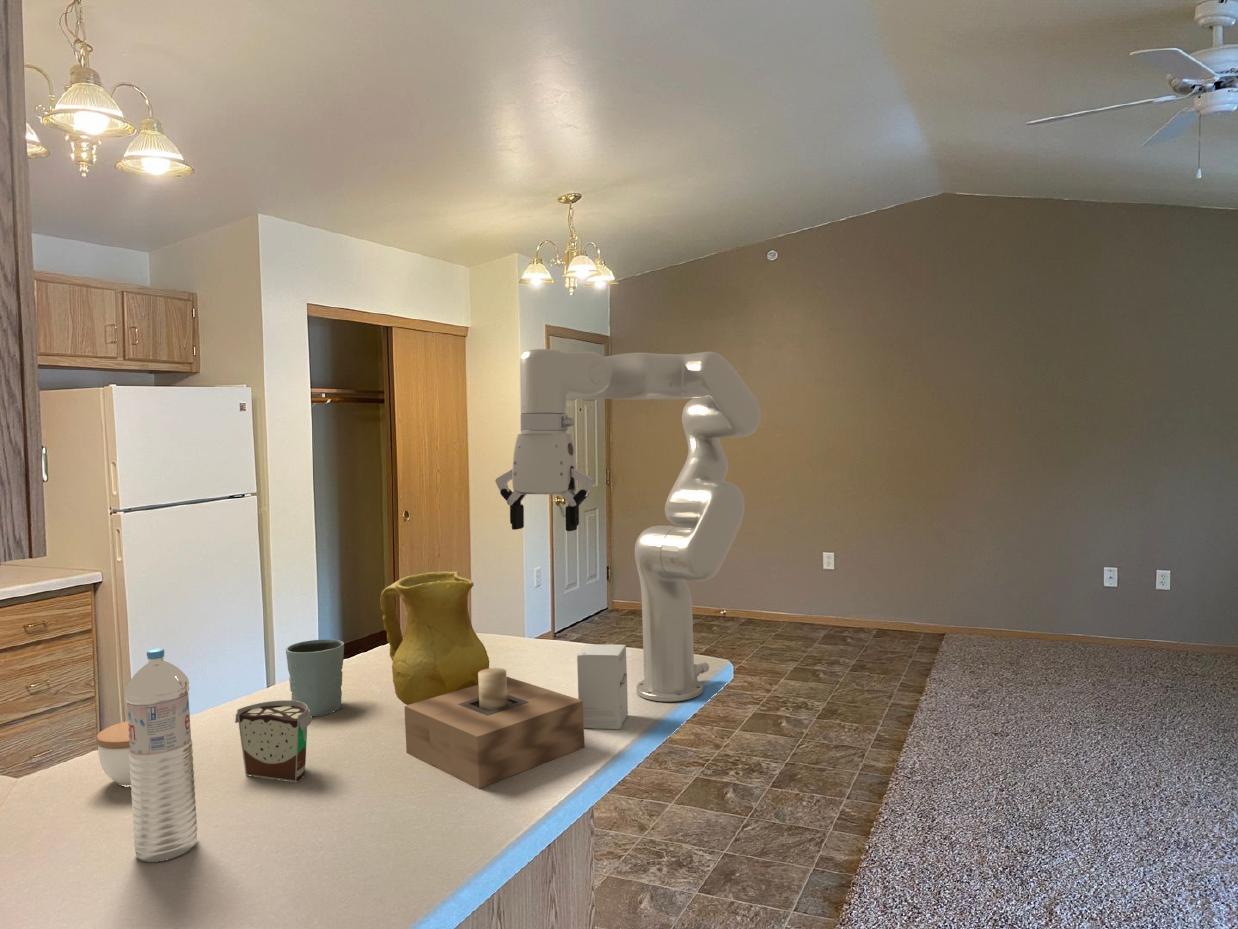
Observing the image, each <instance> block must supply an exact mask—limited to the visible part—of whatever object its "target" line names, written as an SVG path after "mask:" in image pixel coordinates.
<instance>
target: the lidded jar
mask: <svg viewBox="0 0 1238 929" xmlns="http://www.w3.org/2000/svg"><path fill="white" fill-rule="evenodd" d="M96 744H97V750H98V758H99V762H100V765H101V768H102V771H103V772H104V774H105V775H106V776H107V777H108V778H109V779H111V780H112V781H113V782H114V783H117V785H118V784H119V785H126V786H127V785H131V780H130V776H131V774H130V764H129V762H130V759H129V752H130V744H129V726H128V720H126V721H122V722H119V723H116V724H113V725H110V726H108V727H106V728H104V729H102V730H101V731H99V733H98V734H97V735H96ZM119 785H118V786H119Z"/></svg>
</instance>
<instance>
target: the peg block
mask: <svg viewBox="0 0 1238 929" xmlns="http://www.w3.org/2000/svg"><path fill="white" fill-rule="evenodd" d="M506 677H507V702H508V706H505V707H502V708H499V709H496V710H493V711H486V710H484V709H481V708H480V706H479V685H475V686H472V687H469V688H465V689H462V690H458V691H455V692H451V693H448V694H444V695H441V696H437V697H434V698H430V699H427V700H424V701H420V702H417V703H413V704H410V705H406V704H405V705H404V724H405V725H404V726H405V728H404V730H405V744H406V748H405V749H406V750H405V751H406V754H409V755H410V756H413V757H415V758H417V759H418V760H421V761H423V762H424V763H427V764H428V765H431V766H432V767H435V768H437V769H439V770H440V771H442V772H445V773H447V774H448V775H451V776H453V777H455V778H457V779H458V780H461V781H462V782H465V783H466V784H469V785H471V786H473V787H474V788H477V789H479V790H480V789H482V788H485V787H487V786H490V785H493V784H495V783H498V782H500V781H503V780H505V779H508V778H510V777H513V776H515V775H518V774H520V773H523V772H525V771H528V770H531V769H533V768H535V767H538V766H540V765H543V764H545V763H549V762H551V761H554V760H555V759H559V758H560V757H561V758H562V757H563V756H566V755H568V754H571V753H574V752H576V751H578V749H579V750H581V749H584V748H585V728H584V721H583V700H579V699H578V698H575V697H572V696H570V695H566V694H563V693H561V692H556V691H553V690H550V689H549V688H544V687H541V686H539V685H538V686H537V685H536V684H531V683H529V682H525V681H523V680H519V679H516V678H513V677H510V676H506ZM580 748H581V749H580Z"/></svg>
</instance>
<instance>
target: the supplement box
mask: <svg viewBox="0 0 1238 929" xmlns="http://www.w3.org/2000/svg"><path fill="white" fill-rule="evenodd" d="M576 660H577V661H576V664H577V692H578V693H577V694H578V695H577V696H578V698H577V699H579V700H583V721H584V729H598V730H599V729H600V730H620V729H621V728H622V725H623V724H624V722H625V721H626V718H627V717H628V714H629V710H628V709H629V707H628V706H629V705H628V703H629V702H628V699H629V698H628V668H627V665H628V664H627V645H626V644H608V643H607V644H601V643H600V644H590V643H589V644H586V645H585V646H584V647H583V648H582V649H581V650H580V652H579V653H577V656H576Z"/></svg>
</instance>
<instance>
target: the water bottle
mask: <svg viewBox="0 0 1238 929" xmlns="http://www.w3.org/2000/svg"><path fill="white" fill-rule="evenodd" d="M146 657H147V658H146V660H148V663H146V664H144V666H142V667H141V668H139V670H138V671H136V673H135V674H133V676H132V678H130V681H129V682H128V684H127V685H126V686H125V690H124V691H125V692H124V694H125V702H126V703H127V704H126V705H127V721H128V726H129V744H130V752H129V759H130V762H129V764H130V774H131V776H130V780H131V787H130V789H131V790H130V791H131V792H130V793H131V794H130V795H131V809H132V825H133V826H132V828H133V830H132V831H133V840H134V841H133V843H134V846H133V847H134V852H135V855H136V857H137V859H139V860H140V861H142V862H145V861H146V862H145V863H157V862H156V861H160V862H163V861H162V860H166V859H170V860H172V858H173V859H175V858H174V857H176V858H178V857H180V855H181V856H182V854H183V855H184V854H186V853H187V852H189V851H190V850H191V848H192V847H193V848H194V846H196V844H197V840H198V826H197V825H198V821H197V804H196V802H197V801H196V791H195V790H196V786H195V769H194V768H195V765H194V755H193V754H194V750H193V740H192V736H191V735H192V734H191V731H192V730H191V729H192V728H191V716H190V700H189V691H190V680H189V678H188V676H187V675H186V674H185V672H183V670H181V669H180V668H179V667H177V666H176V665H175V664H173V663H171V662H169V661H165V660H164V658H165V649H164V648H159V647H157V648H153V649H149V650H147V651H146ZM193 848H192V849H193ZM185 852H186V853H185ZM177 856H178V857H177ZM166 861H167V860H166Z"/></svg>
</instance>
